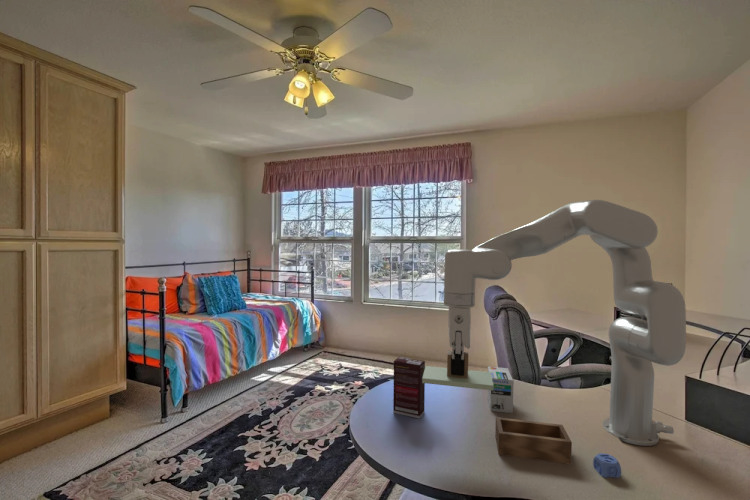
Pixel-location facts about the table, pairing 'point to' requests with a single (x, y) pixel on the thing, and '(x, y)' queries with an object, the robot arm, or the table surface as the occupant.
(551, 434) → the keepsake box
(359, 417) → the table surface
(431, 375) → the lid
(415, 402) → the supplement box
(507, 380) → the light bulb box
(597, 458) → the decorative dice
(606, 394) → the table surface
